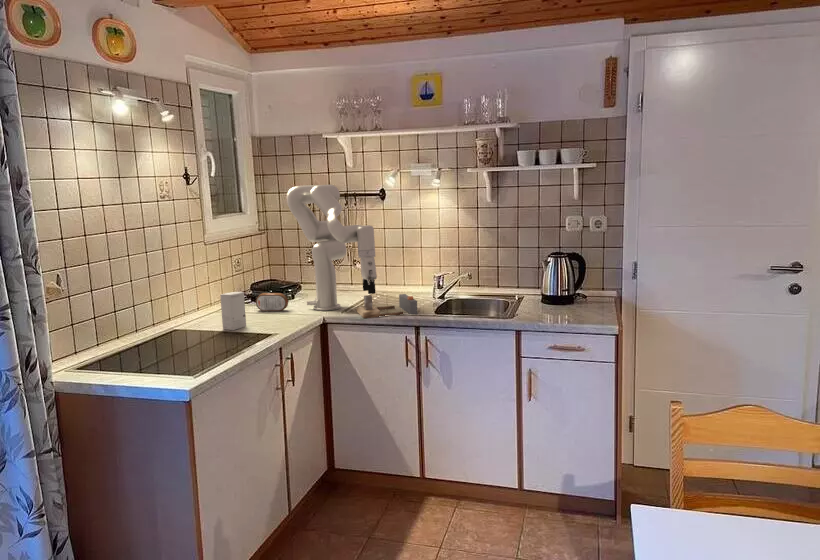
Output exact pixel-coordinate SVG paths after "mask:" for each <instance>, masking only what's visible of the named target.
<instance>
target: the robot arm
mask: <svg viewBox="0 0 820 560" xmlns="http://www.w3.org/2000/svg"><path fill="white" fill-rule="evenodd" d="M340 196H341V193H340V191H339V189H338V187H337V186H336V185H334V184H317V185H315V184H314V185H313V184H311V185H310V184H309V185H296V186H293V187H291V188H290V189H289V190H288V192H287V194H286V204H287V207H288V209H289V211H290V212H291V214H292V215H293V217H294V218H295V219H296V221H297V224H298V225H299V228H301V231H302V232H303V235H304V236H305V238H306V239H307V241H308V242H311V243H315V244H314V245H313V246H312V249H311V255H312V260H313V264H314V276H315V278H314V279H315V294H316V296H315V298H314V299H313V300H307V301H306V305H307V306H313V309H314V310H315V311H323V312H325V311H335V310H338V309H340V308H341V304H340V303H338V294H337V293H338V292H337V276H336V275H337V274H336V268H335V265H334V263H333V261H337V260H341V259H343V258H345V257H346V254H347V246H346V244H349V243H357V256H358V258H359V259H360V274H361V278H362V291H364V292H366V291H367V293H368V295H372V294H376V281H375V280H376V279H377V268H376V267H377V266H376V260H375V257H376V243H375V229H374V228H375V227H374V226H372V225H361V224H353V225H343V224H342V223H341V222H340V220H339V219H338V217H339V215H340V214H342V211H343V206H342V204H341V203H340V202H339V200H340ZM306 204H315V205H316V206H317V207H318V208H319V209H320V211H321V212H322V213H323V215H324V216H325V217H326V220H319V219H318V218H317V217H316V215H315V213H314V212H313V210H312V209H310V208H309V207H308V206H307V205H306Z"/></svg>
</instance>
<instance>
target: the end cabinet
mask: <svg viewBox="0 0 820 560" xmlns="http://www.w3.org/2000/svg"><path fill="white" fill-rule="evenodd" d="M408 296H409V294H406V293H402V294H401V293H400V294H398V297H399V298H398V304H399V306H398V307H399V308H400V309H401V310H403V311H404V312H406V313H407V312H408V314H409V315H410V314H415V315H418V300H416V299H415V298H413V300H408Z"/></svg>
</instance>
